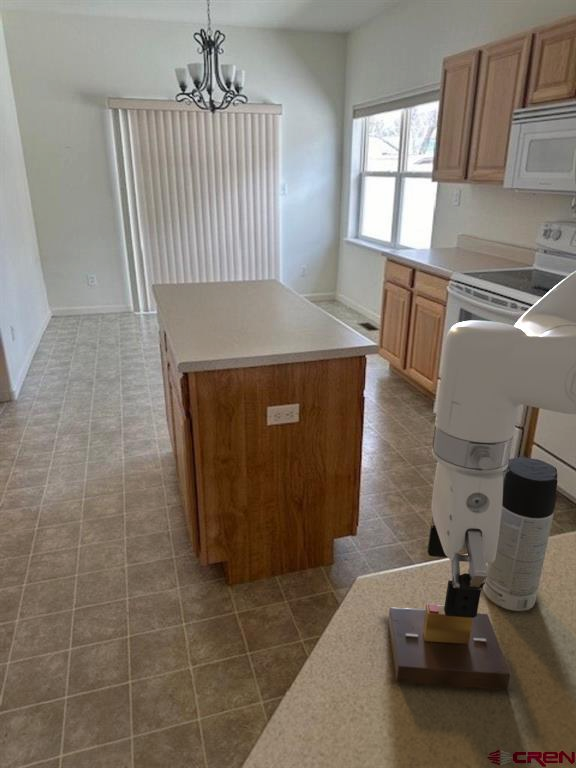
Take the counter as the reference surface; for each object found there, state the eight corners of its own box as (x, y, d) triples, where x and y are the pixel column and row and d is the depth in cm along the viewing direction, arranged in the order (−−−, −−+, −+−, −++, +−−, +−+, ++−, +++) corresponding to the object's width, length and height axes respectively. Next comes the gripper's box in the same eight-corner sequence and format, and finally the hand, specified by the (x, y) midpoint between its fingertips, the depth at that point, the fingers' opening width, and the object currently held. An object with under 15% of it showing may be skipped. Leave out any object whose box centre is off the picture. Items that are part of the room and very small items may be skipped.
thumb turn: (465, 634, 63) (470, 605, 61) (468, 644, 61) (473, 614, 60) (422, 631, 63) (426, 602, 62) (424, 641, 62) (428, 611, 60)
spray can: (535, 590, 74) (560, 461, 68) (534, 623, 69) (562, 486, 62) (485, 576, 77) (505, 451, 70) (480, 607, 71) (501, 473, 65)
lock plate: (484, 632, 67) (487, 612, 66) (506, 695, 58) (510, 673, 57) (387, 626, 68) (389, 606, 67) (396, 687, 59) (398, 665, 58)
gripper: (540, 490, 46) (508, 646, 51) (485, 414, 62) (465, 538, 68) (451, 485, 46) (429, 640, 52) (419, 410, 62) (405, 535, 68)
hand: (449, 582), depth 60 cm, fingers open, 9 cm apart
